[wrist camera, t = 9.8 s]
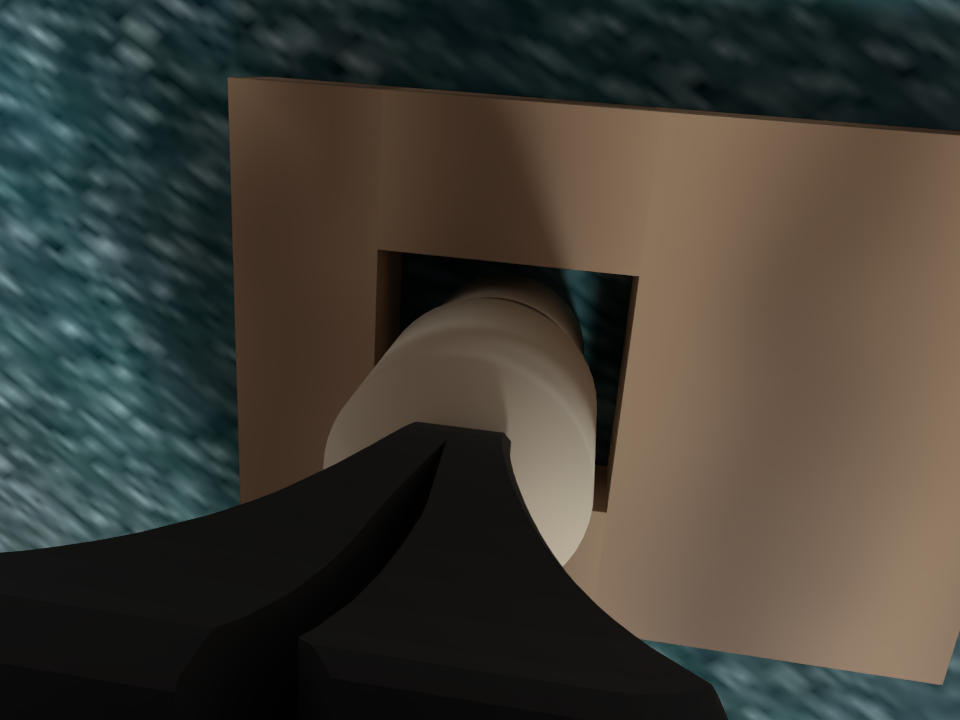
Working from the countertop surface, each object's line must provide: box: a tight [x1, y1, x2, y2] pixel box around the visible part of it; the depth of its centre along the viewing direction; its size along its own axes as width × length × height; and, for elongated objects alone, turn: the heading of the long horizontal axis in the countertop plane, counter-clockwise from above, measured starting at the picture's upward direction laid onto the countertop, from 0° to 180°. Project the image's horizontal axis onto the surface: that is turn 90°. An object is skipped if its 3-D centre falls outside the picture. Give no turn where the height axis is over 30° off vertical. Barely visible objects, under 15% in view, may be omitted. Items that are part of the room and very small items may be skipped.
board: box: [228, 77, 960, 685], centre depth 16 cm, size 14×10×2 cm
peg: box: [323, 274, 597, 567], centre depth 14 cm, size 4×4×6 cm
